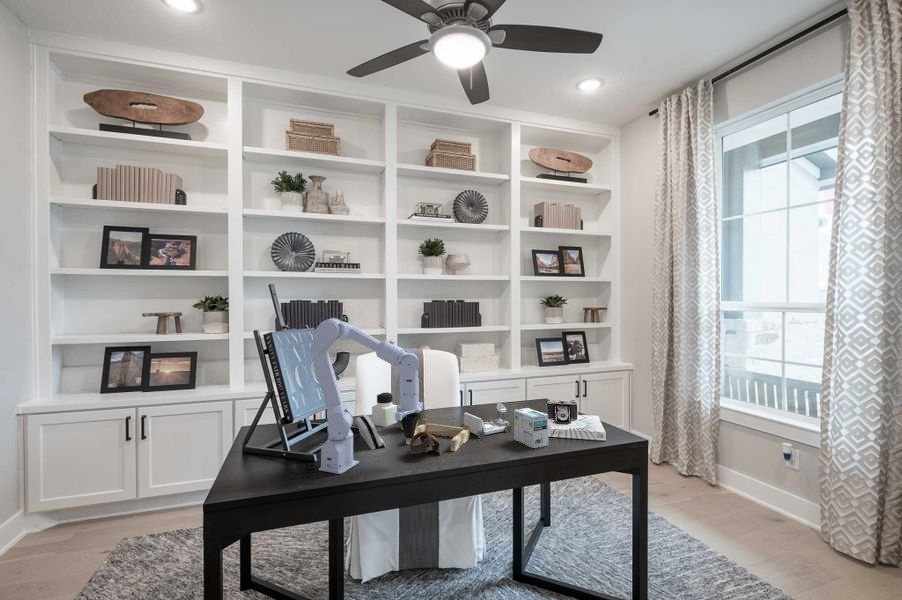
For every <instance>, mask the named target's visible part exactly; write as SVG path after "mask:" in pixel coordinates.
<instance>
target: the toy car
mask: <svg viewBox="0 0 902 600" xmlns="http://www.w3.org/2000/svg"><path fill="white" fill-rule="evenodd" d="M504 404H505V402H504V401H503V402H502V403H501V402H499V401H498V402H497V404H496V410H497V418H496V419H494V418H493V417H491V416H488V417H487V418H486V421H484V420H483V419H482V418H480V417H478V416H476V415H474V414H471V413H469V412H463V422H462V423H461V424H460V427H463V428H465V424H470V433H472V434H474V435H475V436H477V438H478V439H482V438H481V437H484V438H485V437H486V436H487V435H492V434H495V433H500V432H504V433H506V432H507V433H510V432H509V431H511V432H512V429H513V427H512V426H511V425H510V424H511V423H510V421H508V420H505V413H506V412H508V408H507V407H506V406H505V405H504ZM499 412H500V413H502V418H499Z"/></svg>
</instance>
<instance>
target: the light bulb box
mask: <svg viewBox="0 0 902 600" xmlns="http://www.w3.org/2000/svg"><path fill="white" fill-rule="evenodd" d="M513 411H514V412H513V415H514V416H513V417H514V418H513V419H514V421H513V422H514V423H513V426H514V427H513V434H514V438H513V440H514V439H515V440H514V441H516V442H518V441H519V442H518V443H520V442H521V443H520V444H522V443H523V445H524V444H525V446H527V447H529V448H530V449H533V448H535V449H537V448H538V447H539V448H543V447H547V446H549V414H548V413H544V412H541V411H537V410H534V409H532V408H529V407H525V408H519V409H514V410H513Z"/></svg>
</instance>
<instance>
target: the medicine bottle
mask: <svg viewBox="0 0 902 600" xmlns="http://www.w3.org/2000/svg"><path fill="white" fill-rule="evenodd" d="M397 406H398V405H397V404H393V394H392V393H390V392H387V391H385V392H379V393H378V394H376V405H372V406H371V421H372V422H373V424H374V426H379V427H382V428H383V427H384V428H387V427H389V426H393V425H394V424H395V425H396V424H397V423H398V420H395V413H396V412H397V411H398V408H397Z"/></svg>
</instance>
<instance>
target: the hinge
mask: <svg viewBox="0 0 902 600" xmlns="http://www.w3.org/2000/svg"><path fill="white" fill-rule="evenodd" d="M355 423H356V425H357V428H358V431H359V433H360V435H361V438H363V440H364V441H365V442H366V444H367V445H368V446H369V448H370V449H371V450H376V448H377V447H378V448H380V447H381V446H383V447H384V448H386V449H387V445H386V442H385V441H384V440H383V439H382V438H381V436H379V434H378V431H377V428H376V425H374V424H373V422H372V419H371V418H370V417H369V416H368V415H367V414H363V415H361V416H360V417H357V418H356V419H355Z"/></svg>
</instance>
